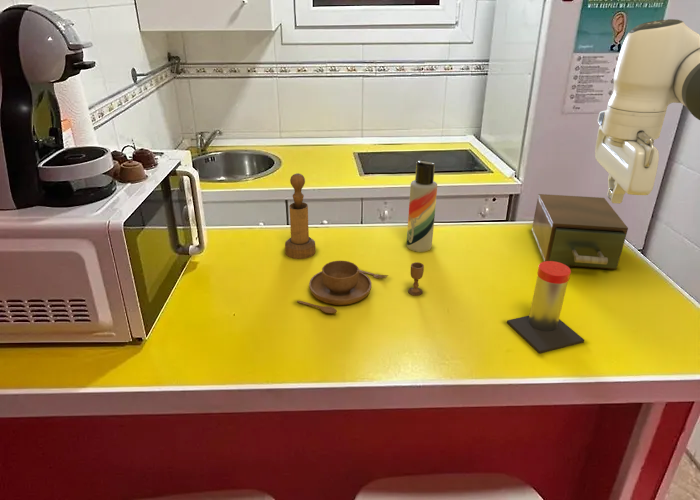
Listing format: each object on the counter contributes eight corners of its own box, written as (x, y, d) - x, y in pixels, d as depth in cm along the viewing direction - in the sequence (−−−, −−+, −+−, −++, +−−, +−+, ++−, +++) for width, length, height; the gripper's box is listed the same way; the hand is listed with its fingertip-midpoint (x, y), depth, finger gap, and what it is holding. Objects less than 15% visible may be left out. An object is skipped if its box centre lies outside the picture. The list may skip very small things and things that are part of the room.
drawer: (623, 278, 103) (633, 244, 100) (553, 273, 105) (561, 239, 101) (595, 236, 121) (603, 205, 117) (536, 232, 122) (542, 201, 119)
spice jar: (545, 312, 93) (557, 259, 88) (564, 328, 89) (577, 273, 84) (521, 317, 92) (532, 263, 87) (539, 334, 88) (552, 278, 82)
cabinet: (616, 269, 109) (628, 228, 104) (544, 264, 110) (553, 223, 106) (594, 235, 123) (604, 197, 119) (531, 231, 125) (538, 193, 120)
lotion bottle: (401, 246, 117) (406, 160, 108) (417, 238, 121) (424, 155, 111) (420, 255, 114) (427, 167, 104) (436, 247, 117) (445, 161, 108)
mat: (548, 313, 94) (549, 310, 94) (584, 342, 86) (584, 339, 86) (506, 323, 91) (506, 320, 91) (539, 354, 84) (539, 351, 84)
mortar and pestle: (290, 261, 110) (286, 181, 102) (281, 248, 116) (276, 171, 107) (319, 255, 113) (318, 177, 105) (309, 243, 118) (307, 167, 110)
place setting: (338, 263, 110) (338, 238, 107) (426, 289, 101) (428, 262, 98) (289, 303, 96) (287, 275, 94) (385, 336, 87) (387, 307, 85)
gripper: (677, 141, 78) (653, 225, 85) (631, 111, 96) (615, 182, 103) (633, 140, 79) (613, 223, 85) (596, 110, 97) (581, 181, 103)
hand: (613, 200), depth 94 cm, fingers closed
